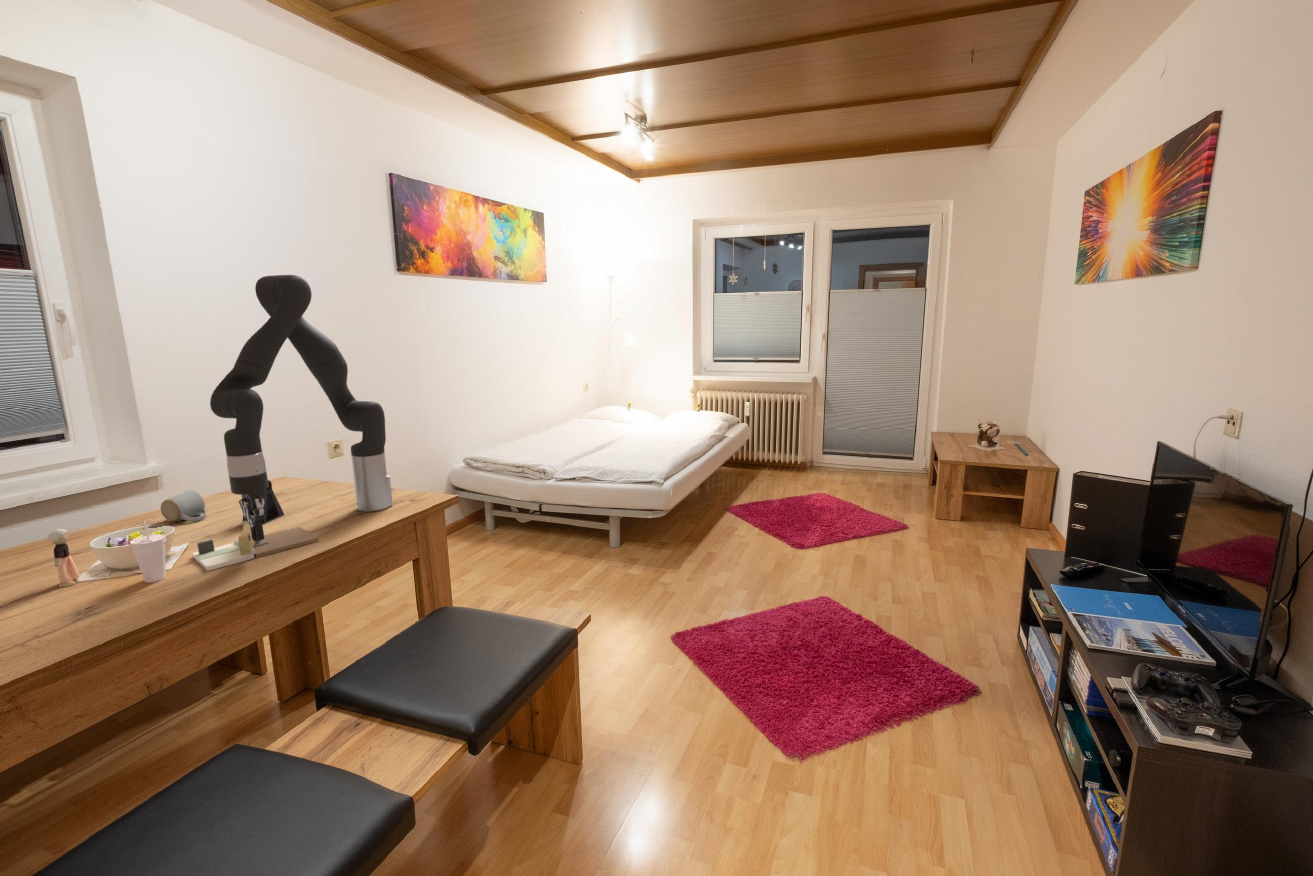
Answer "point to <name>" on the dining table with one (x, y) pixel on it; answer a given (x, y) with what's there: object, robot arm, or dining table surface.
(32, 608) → the dining table surface
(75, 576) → the grandmother figurine
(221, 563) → the door mockup
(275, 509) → the phone stand
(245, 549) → the swing bar
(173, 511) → the ceramic mug
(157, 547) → the smoothie
